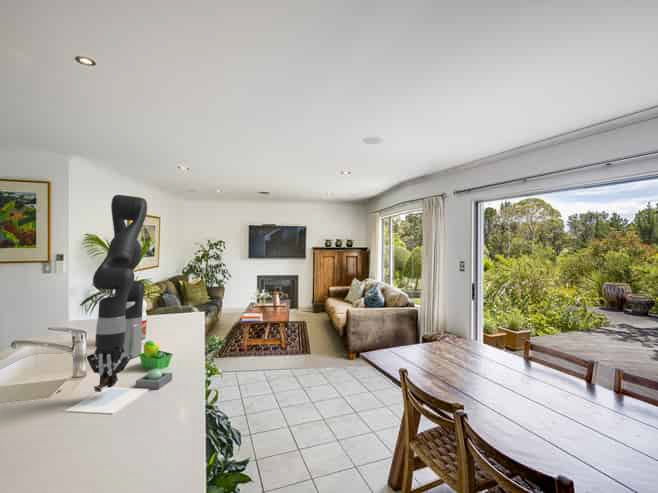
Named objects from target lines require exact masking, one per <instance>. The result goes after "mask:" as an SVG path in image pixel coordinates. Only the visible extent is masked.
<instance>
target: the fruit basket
mask: <svg viewBox="0 0 658 493" xmlns="http://www.w3.org/2000/svg"><path fill="white" fill-rule="evenodd" d="M173 356H174V353H171V352H167V351H164V350H163V351H162V350H160V345H159V344H157V343H156V342H154V341H153V340H148V341H145V343H144V344H143V352H141V353H140V354H139V356H138V357H139V359H140V364H141V366H142V368H147V369H150V370H152V369H162V370H163V369H165V368H169V365H170V363H171V360H172V357H173Z"/></svg>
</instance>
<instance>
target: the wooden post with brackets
mask: <svg viewBox="0 0 658 493" xmlns="http://www.w3.org/2000/svg"><path fill="white" fill-rule="evenodd" d="M107 381H108V376H107V377H106V378H105V379H104V381H103V382H102V383H101V384H100V383H99V384H97V385H96V386H93V390H94V391H95V392H96V393H98V392H101V391H102V390H103V388H104V387H103V386H104V385H105V384H106V383H107ZM118 381H119V377H118V375H117V374H116V382H118Z"/></svg>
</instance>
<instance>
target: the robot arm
mask: <svg viewBox="0 0 658 493" xmlns="http://www.w3.org/2000/svg"><path fill="white" fill-rule="evenodd" d="M110 208H111V210H110V211H111V216H112V218H111V219H112V225H113V226H112V227H113V235H114V236H113V237H112V239H111V241H110V243H109V246H108V249H107V250H108V251H107V253H106V257H105V258H104V259H103V261H102V262H101V264H99V266H98V267H97V269H96V271H95V272H94V274H93V277H92V283H93V285H94V287H95V288H96V289H98V290H103V291H104V290H114V295H112V296H107V297H103V298H101V299H100V300H99V302H98V312H97V314H98V315H97V321H96V327H95V328H96V329H95V342H94V343H95V344H94V345H95V346H94V347H95V350H94V353H91V354H89V355H86V360H87V362H88V363H89V366H90V368H91V370H92V372H93V373H94V374H99V384H101V383H102V382H103V381H104V379H105V378H106V377H107V376H108V381H107V383H106V384H105V385H104V386H103V387H102V388H107V387H108V388H110V387H115V385H116V383H117V381H116V375H117V374H119V373H121V372H123V371H124V370H125V368H126V366H127V365H128V363H130V360H131V359H134V358H137V357H140V356H139V354H141V353H142V345H143V344H142V332H141V327H142V307H143V298H144V297H145V282H143V281H142V280H135V272H134V270H135V269H136V268H137V266H139V264H140V263H141V261H142V245H141V243H140V241H139V240H138V237H139V235H140V233H141V231H142V229H143V225H144V222H145V220H146V217H147V214H148V202H147V200H146V199H145V198H143V197H140V196H133V195H124V194H116V195H114V196H113V197H112V199H111V204H110ZM126 221H131V223H130V224H128V226H127V224H126ZM128 302H135V304H134V305H133V306H131V307H129V308H127V309H126V305H127V303H128ZM141 344H142V345H141Z"/></svg>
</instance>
